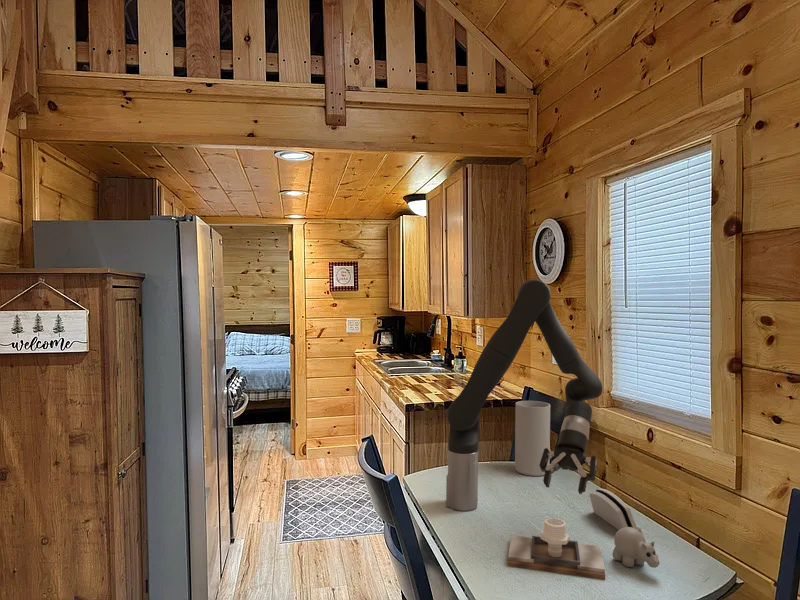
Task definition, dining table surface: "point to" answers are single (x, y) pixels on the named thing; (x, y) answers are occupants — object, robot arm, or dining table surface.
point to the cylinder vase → (531, 436)
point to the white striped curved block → (612, 509)
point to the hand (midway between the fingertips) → (563, 489)
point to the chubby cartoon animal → (634, 548)
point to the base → (571, 560)
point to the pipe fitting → (555, 535)
